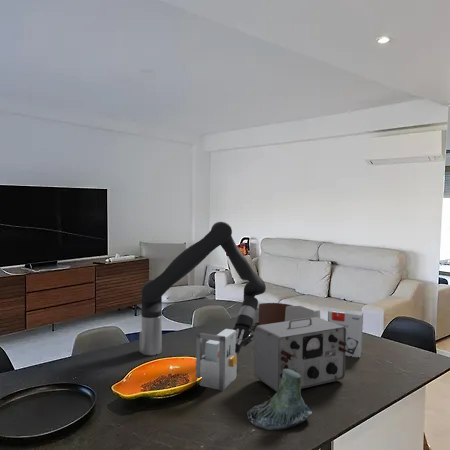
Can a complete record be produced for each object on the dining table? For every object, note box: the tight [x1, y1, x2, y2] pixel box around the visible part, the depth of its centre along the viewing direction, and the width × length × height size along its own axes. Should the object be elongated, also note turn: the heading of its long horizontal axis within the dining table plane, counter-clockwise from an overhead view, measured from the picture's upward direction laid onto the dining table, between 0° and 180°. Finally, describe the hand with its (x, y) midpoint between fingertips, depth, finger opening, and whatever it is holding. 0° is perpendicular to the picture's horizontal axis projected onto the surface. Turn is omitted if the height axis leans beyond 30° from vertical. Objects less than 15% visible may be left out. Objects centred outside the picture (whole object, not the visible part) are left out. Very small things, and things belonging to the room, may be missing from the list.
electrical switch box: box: [285, 305, 321, 321], centre depth 215 cm, size 15×15×20 cm
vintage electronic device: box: [253, 317, 346, 393], centre depth 167 cm, size 32×18×25 cm, turn 117°
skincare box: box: [204, 328, 236, 362], centre depth 174 cm, size 21×5×16 cm, turn 157°
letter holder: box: [258, 302, 294, 325], centre depth 244 cm, size 10×20×14 cm, turn 80°
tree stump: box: [246, 369, 313, 431], centre depth 140 cm, size 18×20×18 cm
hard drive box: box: [327, 307, 364, 359], centre depth 200 cm, size 16×8×20 cm, turn 68°
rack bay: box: [195, 331, 238, 391], centre depth 167 cm, size 12×13×20 cm
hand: (235, 353), depth 183 cm, fingers closed
